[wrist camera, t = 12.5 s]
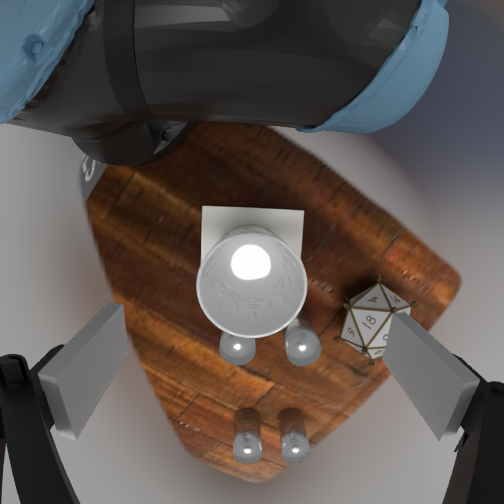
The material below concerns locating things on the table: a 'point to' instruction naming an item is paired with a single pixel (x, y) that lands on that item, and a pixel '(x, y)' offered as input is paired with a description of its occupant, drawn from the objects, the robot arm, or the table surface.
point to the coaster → (228, 218)
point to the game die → (371, 319)
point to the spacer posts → (289, 420)
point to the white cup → (251, 283)
